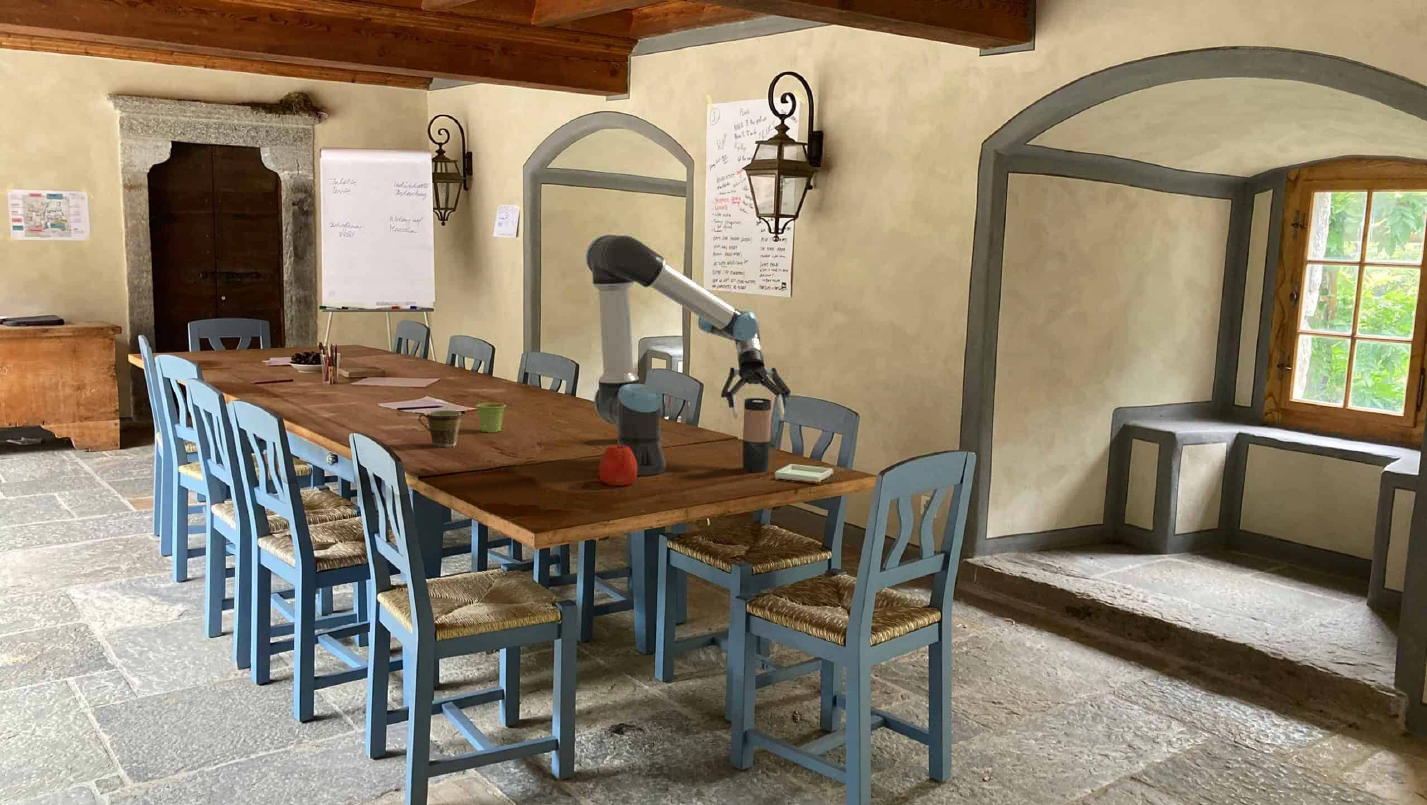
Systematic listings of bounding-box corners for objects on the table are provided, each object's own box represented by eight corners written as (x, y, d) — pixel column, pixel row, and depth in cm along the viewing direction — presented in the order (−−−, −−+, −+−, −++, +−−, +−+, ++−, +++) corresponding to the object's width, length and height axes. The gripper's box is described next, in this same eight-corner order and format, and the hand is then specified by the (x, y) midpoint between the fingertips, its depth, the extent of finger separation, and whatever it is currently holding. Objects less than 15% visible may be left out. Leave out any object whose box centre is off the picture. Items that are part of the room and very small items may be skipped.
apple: (617, 477, 299) (618, 439, 297) (645, 483, 293) (646, 444, 291) (590, 483, 291) (591, 444, 290) (618, 489, 285) (619, 449, 283)
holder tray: (818, 484, 297) (818, 477, 297) (774, 479, 302) (775, 471, 302) (832, 475, 308) (833, 468, 308) (790, 470, 313) (790, 463, 313)
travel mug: (773, 469, 315) (776, 399, 312) (760, 473, 308) (763, 403, 305) (750, 465, 319) (752, 397, 316) (737, 470, 312) (739, 400, 309)
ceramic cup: (465, 443, 340) (465, 411, 338) (455, 449, 330) (454, 416, 328) (424, 441, 341) (424, 409, 339) (413, 447, 331) (412, 414, 330)
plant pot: (473, 429, 363) (473, 403, 362) (501, 428, 367) (501, 402, 366) (480, 434, 355) (480, 407, 354) (509, 433, 359) (509, 406, 358)
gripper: (788, 365, 333) (798, 423, 321) (707, 364, 329) (714, 423, 316) (793, 349, 327) (804, 408, 315) (710, 348, 323) (718, 408, 310)
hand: (759, 415), depth 316 cm, fingers open, 13 cm apart
